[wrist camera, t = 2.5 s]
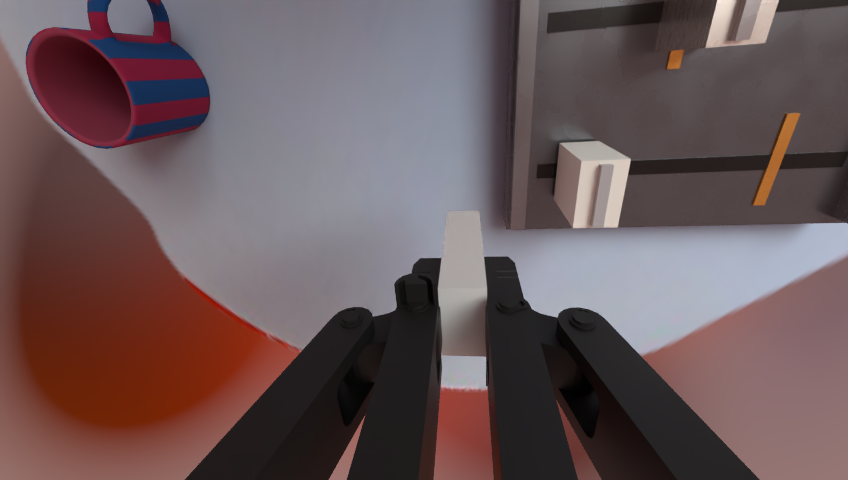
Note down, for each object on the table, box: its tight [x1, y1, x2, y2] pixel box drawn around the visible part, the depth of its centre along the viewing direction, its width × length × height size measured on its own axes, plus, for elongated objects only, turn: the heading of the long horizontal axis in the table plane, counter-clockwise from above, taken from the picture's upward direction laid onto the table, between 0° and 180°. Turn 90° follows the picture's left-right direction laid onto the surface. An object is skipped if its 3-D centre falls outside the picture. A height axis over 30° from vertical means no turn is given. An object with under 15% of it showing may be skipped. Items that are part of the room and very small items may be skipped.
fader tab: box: [554, 141, 631, 228], centre depth 21 cm, size 4×2×5 cm, turn 4°
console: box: [504, 0, 848, 230], centre depth 20 cm, size 18×23×7 cm
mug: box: [26, 0, 210, 149], centre depth 23 cm, size 7×10×7 cm
